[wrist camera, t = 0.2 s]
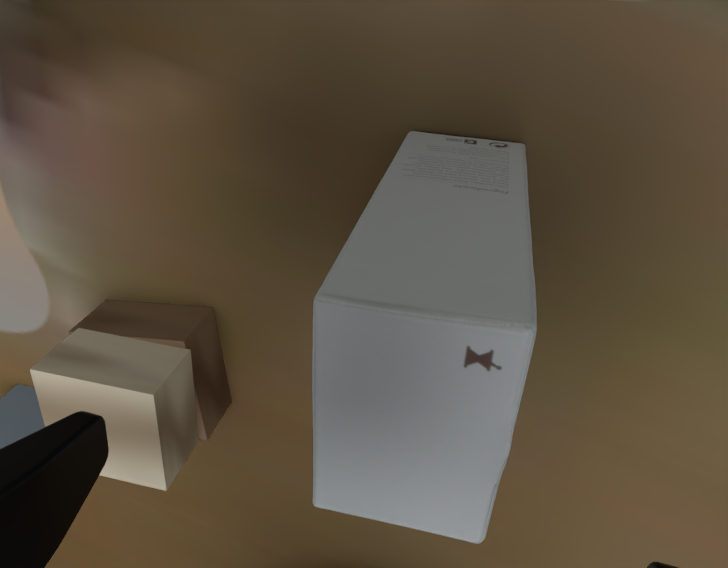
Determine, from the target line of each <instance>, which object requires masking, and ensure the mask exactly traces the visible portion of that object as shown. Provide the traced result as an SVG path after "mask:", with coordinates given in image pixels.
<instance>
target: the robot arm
mask: <svg viewBox="0 0 728 568" xmlns="http://www.w3.org/2000/svg"><path fill="white" fill-rule="evenodd" d="M108 453H109V447H108V440H107V432H106V424H105V420H104V418H103V417H102V416H100V415H97V414H93V413H89V412H85V411H79V412H75V413H73V414H71V415H69V416H67V417H65V418H63V419H61V420H59V421H56V422H54V423H52V424H50V425H48V426H46V427H44V428H42V429H40V430H38V431H36V432H34V433H32V434H30V435H28V436H26V437H23V438H21V439H19V440H17V441H15V442H13V443H11V444H9V445H7V446H5V447H3V448H1V449H0V568H44V567H45V566H46V564H47V563H48V562H49V560H50V559H51V557H52V556H53V554H54V553H55V551H56V550H57V548H58V547H59V545H60V543H61V542H62V540H63V538H64V537H65V535H66V533H67V531H68V530H69V528H70V526H71V524H72V523H73V521H74V519H75V517H76V515H77V514H78V512H79V510H80V508H81V506H82V505H83V503H84V501H85V499H86V498H87V496H88V494H89V492H90V490H91V489H92V487H93V485H94V483H95V482H96V480H97V478H98V476H99V474H100V473H101V471H102V469H103V467H104V465H105V463H106V461H107V458H108ZM647 568H678V567H675V566H671V565H667V564H664V563H660V562H652V563H650V564H649V566H648V567H647Z"/></svg>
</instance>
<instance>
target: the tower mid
mask: <svg viewBox="0 0 728 568" xmlns="http://www.w3.org/2000/svg"><path fill="white" fill-rule="evenodd" d="M30 372H31V376H32V379H33V383H34V387H35V391H36V394H37V398H38V402H39V406H40V410H41V413H42V417H43V421H44V425H45V427H46V426H48V425H50V424H52V423H54V422H56V421H59V420H61V419H63V418H65V417H67V416H69V415H71V414H73V413H75V412H79V411H85V412H89V413H93V414H97V415H100V416H102V417H103V418H104V420H105V424H106V432H107V440H108V447H109V453H108V458H107V461H106V463H105V465H104V467H103V469H102V471H101V473H100V474H99V475H101V476H105V477H109V478H113V479H118V480H122V481H126V482H131V483H135V484H139V485H143V486H148V487H152V488H156V489H160V490H165V491H167V490H168V488H169V486H170V485H171V483H172V482H173V480H174V479H175V477H176V476H177V474H178V472H179V471H180V469H181V468H182V466H183V465H184V463H185V462H186V460H187V458H188V457H189V455H190V454H191V452H192V451H193V449H194V448H195V446H196V444H197V443H198V441H199V436H198V425H197V414H196V404H195V393H194V382H193V371H192V360H191V350H190V349H184V348H178V347H173V346H168V345H163V344H158V343H153V342H148V341H143V340H137V339H132V338H127V337H122V336H118V335H113V334H108V333H103V332H97V331H92V330H87V329H82V328H78V329H76V330H75V331H74V332H73V333H72V334H71V335H69V336H68V337H67V338H66V339H65V340H63V341H62V342H61V343H60V344H59V345H58V346H56V347H55V348H54V349H53V350H52V351H51V352H49V353H48V354H47V355H46V356H45V357H44V358H42V359H41V360H40V361H39V362H38V363H36V364H35V365H34V366H33V367H32V368H31V369H30Z"/></svg>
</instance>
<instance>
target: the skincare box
mask: <svg viewBox="0 0 728 568" xmlns="http://www.w3.org/2000/svg"><path fill="white" fill-rule="evenodd" d="M536 332H537V311H536V287H535V277H534V269H533V254H532V238H531V226H530V211H529V196H528V178H527V164H526V149H525V145H524V144H522V143H513V142H504V141H496V140H487V139H479V138H469V137H459V136H450V135H442V134H432V133H425V132H417V131H410V132H409V133H408V134H407V136H406V138H405V139H404V141H403V143H402V144H401V146H400V148H399V150H398V152H397V153H396V155H395V157H394V159H393V161H392V162H391V164H390V166H389V167H388V169H387V171H386V173H385V174H384V176H383V178H382V179H381V181H380V183H379V185H378V186H377V188H376V190H375V192H374V194H373V196H372V198H371V199H370V201H369V203H368V205H367V206H366V208H365V210H364V211H363V213H362V215H361V216H360V218H359V220H358V222H357V224H356V225H355V227H354V229H353V231H352V233H351V234H350V236H349V238H348V240H347V242H346V243H345V245H344V246H343V248H342V250H341V252H340V254H339V255H338V257H337V259H336V261H335V262H334V264H333V266H332V268H331V269H330V271H329V273H328V275H327V276H326V278H325V280H324V282H323V284H322V286H321V287H320V289H319V290H318V292H317V294H316V296H315V298H314V302H313V357H312V397H313V504H314V506H315V507H317V508H323V509H328V510H332V511H336V512H341V513H345V514H350V515H354V516H359V517H364V518H368V519H373V520H377V521H382V522H386V523H391V524H395V525H399V526H404V527H408V528H413V529H417V530H422V531H426V532H430V533H434V534H439V535H443V536H447V537H451V538H455V539H460V540H464V541H468V542H472V543H481V542H483V540H484V539H485V537H486V533H487V529H488V525H489V521H490V517H491V512H492V509H493V505H494V501H495V497H496V493H497V489H498V486H499V482H500V478H501V475H502V472H503V470H504V467H505V465H506V462H507V459H508V456H509V452H510V448H511V444H512V435H513V430H514V426H515V422H516V418H517V414H518V410H519V406H520V402H521V397H522V393H523V389H524V385H525V381H526V377H527V372H528V368H529V364H530V360H531V355H532V351H533V346H534V342H535V337H536Z"/></svg>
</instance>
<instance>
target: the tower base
mask: <svg viewBox="0 0 728 568" xmlns="http://www.w3.org/2000/svg"><path fill="white" fill-rule="evenodd" d="M78 328H82V329H87V330H92V331H97V332H103V333H108V334H113V335H118V336H122V337H127V338H132V339H137V340H143V341H148V342H153V343H158V344H163V345H168V346H173V347H178V348H184V349H190V350H191V360H192V371H193V382H194V393H195V404H196V414H197V425H198V436H199V440H208V439H209V437H210V436H211V434H212V432H213V431H214V429H215V428H216V426H217V424H218V423H219V421H220V420H221V418H222V416H223V415H224V413H225V411H226V410H227V408H228V407H229V405H230V403H231V402H232V401H231V396H230V391H229V386H228V381H227V376H226V371H225V366H224V361H223V356H222V351H221V346H220V341H219V336H218V331H217V325H216V320H215V315H214V310H213V307H201V306H187V305H173V304H159V303H145V302H131V301H117V300H105V301H104V302H103V303H102V304H101V305H100V306H98V307H97V308H96V309H95V310H94V311H92V312H91V313H90V314H89V315H88V316H87V317H85V318H84V319H83V320H82V321H81V322H80V323H78V324H77V325H76V326H75V327H74V328H73V329H71V330H70V331H69V334H70V335H71V334H72V333H73V332H74V331H75V330H76V329H78Z"/></svg>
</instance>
